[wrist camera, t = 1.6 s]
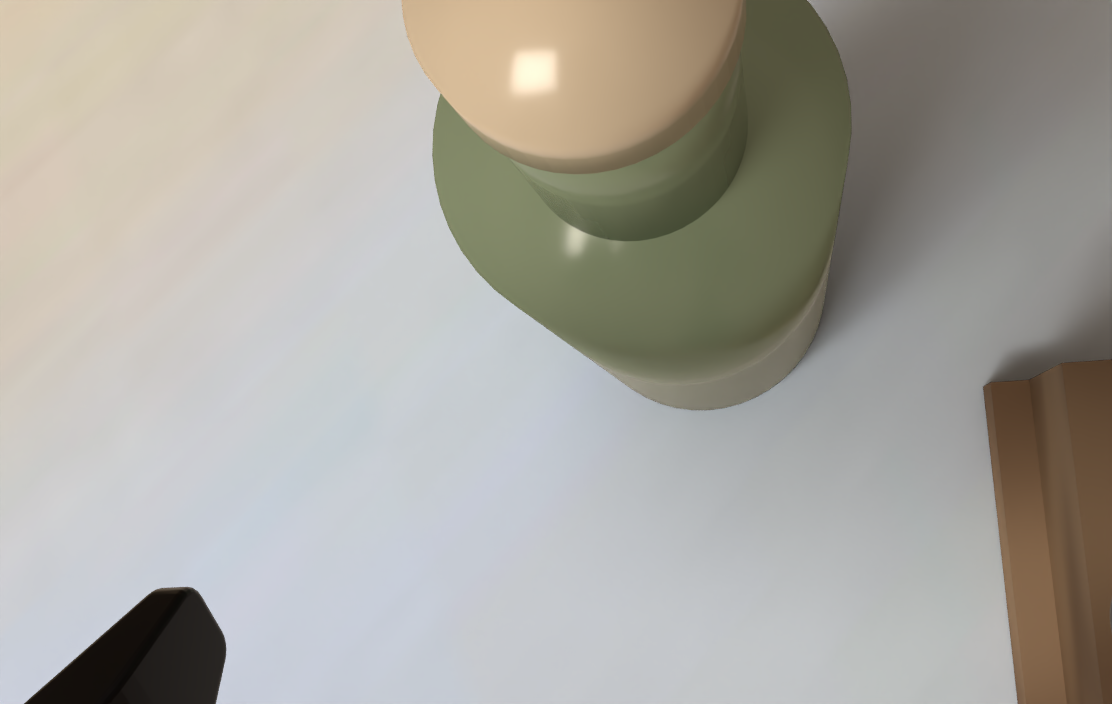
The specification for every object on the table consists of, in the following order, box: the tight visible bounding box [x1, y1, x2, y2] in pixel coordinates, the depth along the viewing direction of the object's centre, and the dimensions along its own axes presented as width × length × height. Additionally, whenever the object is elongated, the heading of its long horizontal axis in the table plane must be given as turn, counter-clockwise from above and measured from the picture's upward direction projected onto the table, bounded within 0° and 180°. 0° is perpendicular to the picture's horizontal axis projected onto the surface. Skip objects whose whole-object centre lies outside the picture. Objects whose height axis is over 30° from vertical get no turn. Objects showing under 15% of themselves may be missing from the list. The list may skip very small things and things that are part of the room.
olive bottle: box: [402, 0, 851, 410], centre depth 16 cm, size 5×5×14 cm
